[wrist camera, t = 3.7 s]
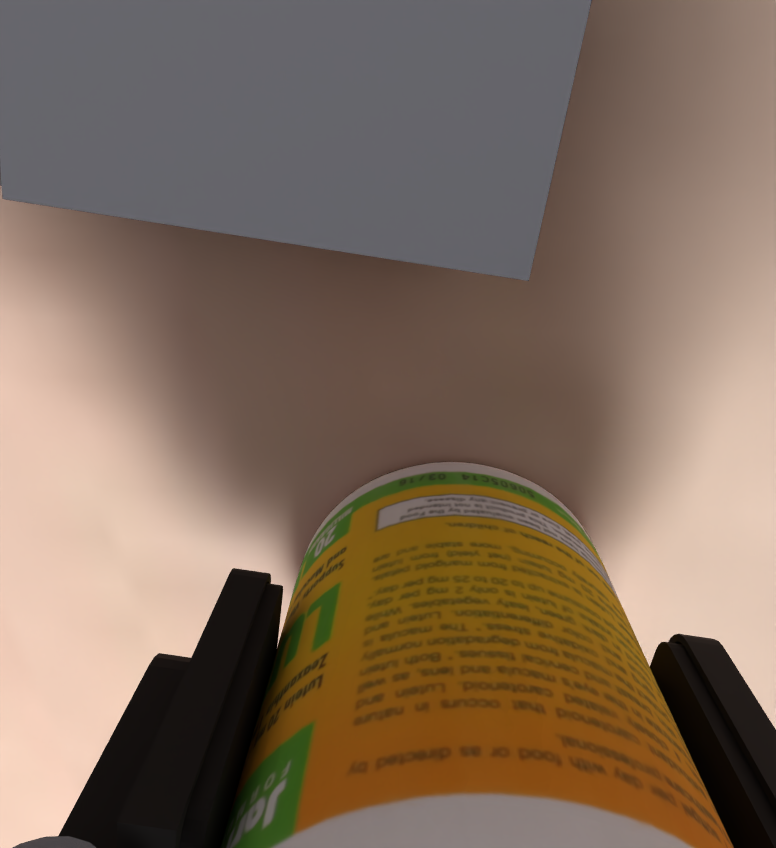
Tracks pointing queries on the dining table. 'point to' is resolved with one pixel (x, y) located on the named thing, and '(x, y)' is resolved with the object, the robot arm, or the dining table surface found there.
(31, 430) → the dining table surface
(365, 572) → the supplement bottle
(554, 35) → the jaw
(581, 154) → the dining table surface
